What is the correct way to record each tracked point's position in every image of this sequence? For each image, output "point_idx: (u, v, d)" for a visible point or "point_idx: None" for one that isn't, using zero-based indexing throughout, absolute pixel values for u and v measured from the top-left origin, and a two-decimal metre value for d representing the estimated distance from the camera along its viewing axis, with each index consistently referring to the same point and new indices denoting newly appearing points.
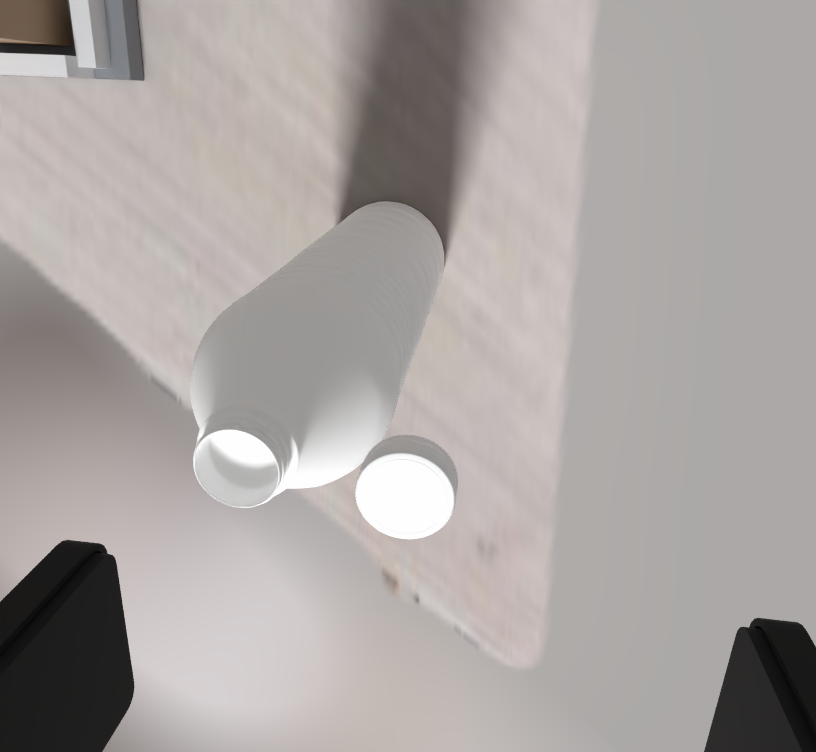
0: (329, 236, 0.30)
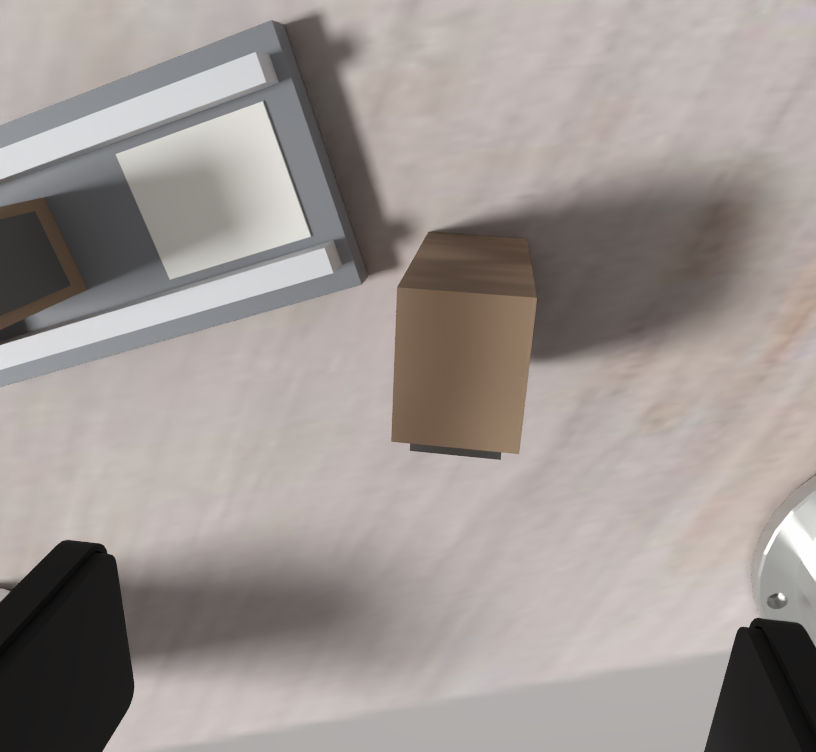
0: None
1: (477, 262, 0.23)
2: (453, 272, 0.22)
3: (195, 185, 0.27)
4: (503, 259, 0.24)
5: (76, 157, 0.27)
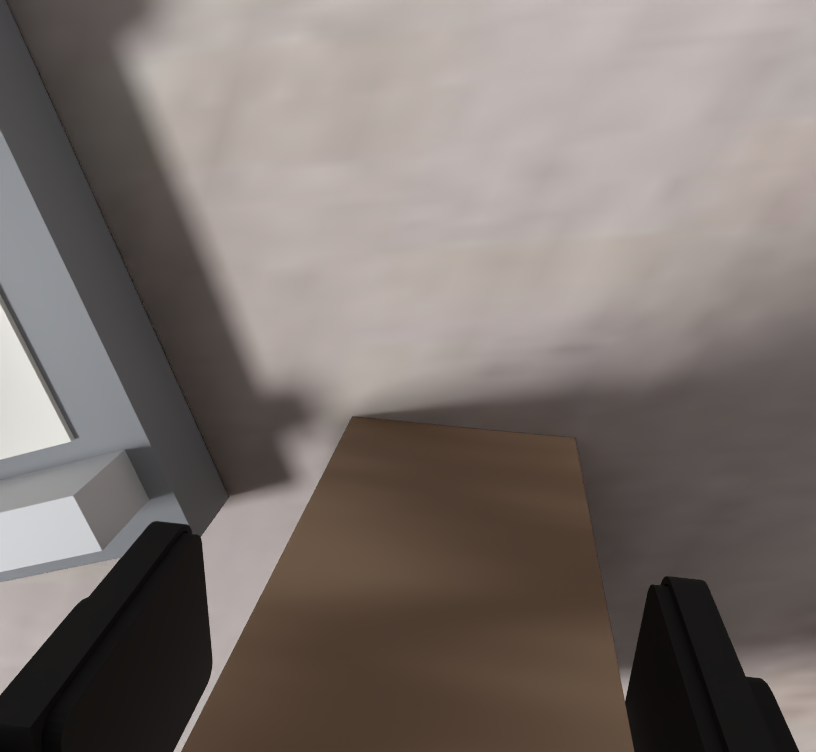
0: None
1: (447, 619, 0.08)
2: (354, 737, 0.06)
3: None
4: (524, 585, 0.08)
5: None
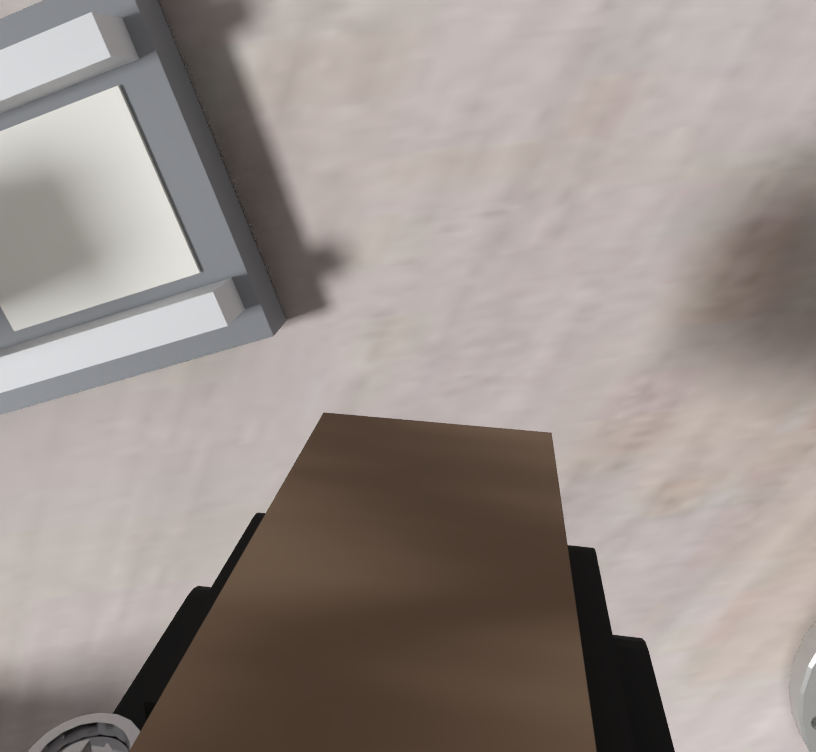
0: None
1: (409, 621, 0.08)
2: (305, 748, 0.06)
3: (35, 204, 0.20)
4: (492, 586, 0.08)
5: None
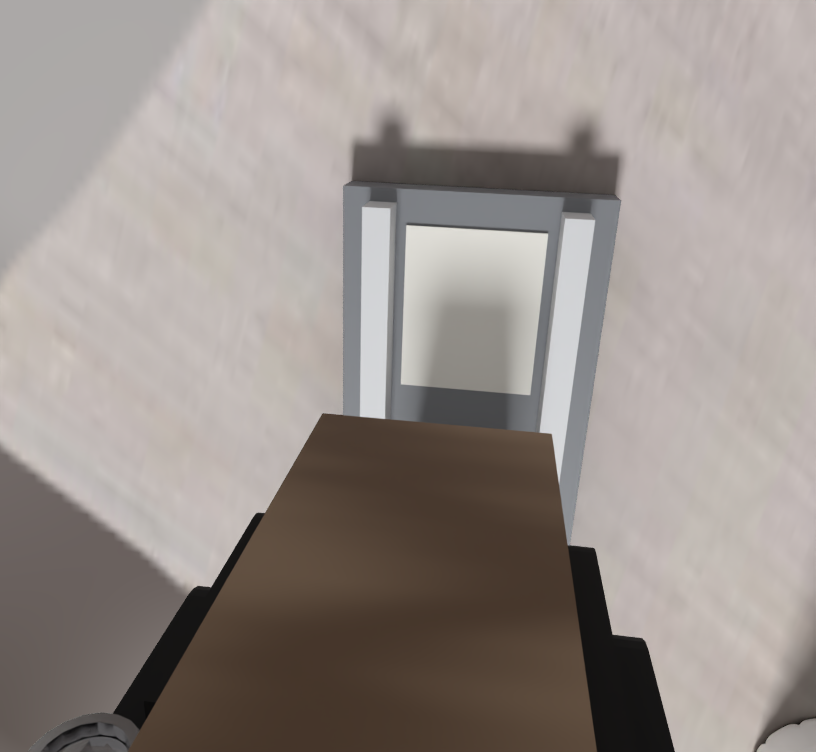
0: None
1: (408, 625, 0.07)
2: None
3: (454, 325, 0.27)
4: (492, 588, 0.08)
5: None
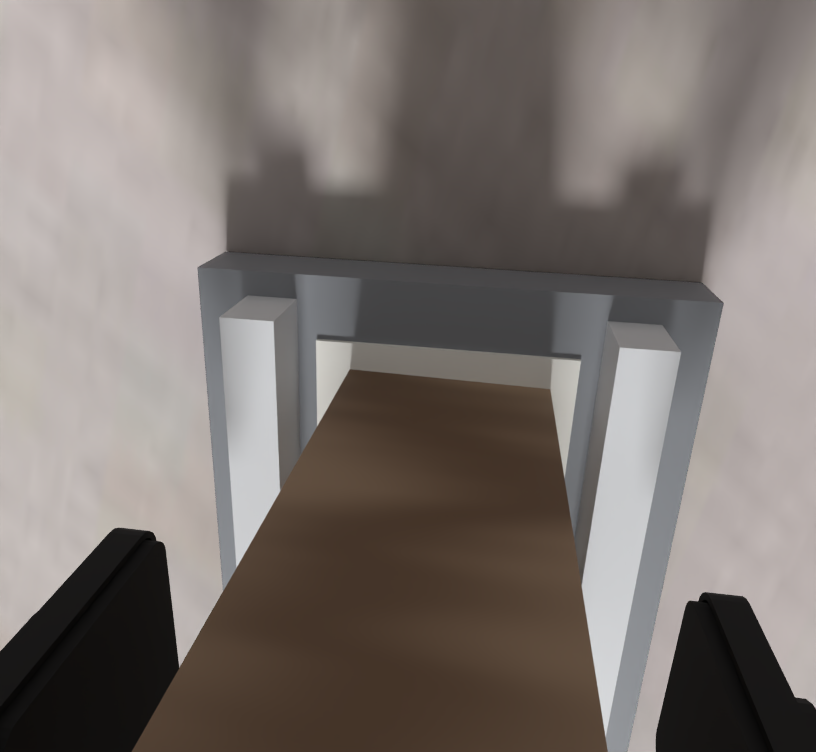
0: None
1: (433, 520, 0.09)
2: (356, 599, 0.08)
3: None
4: (500, 498, 0.10)
5: None
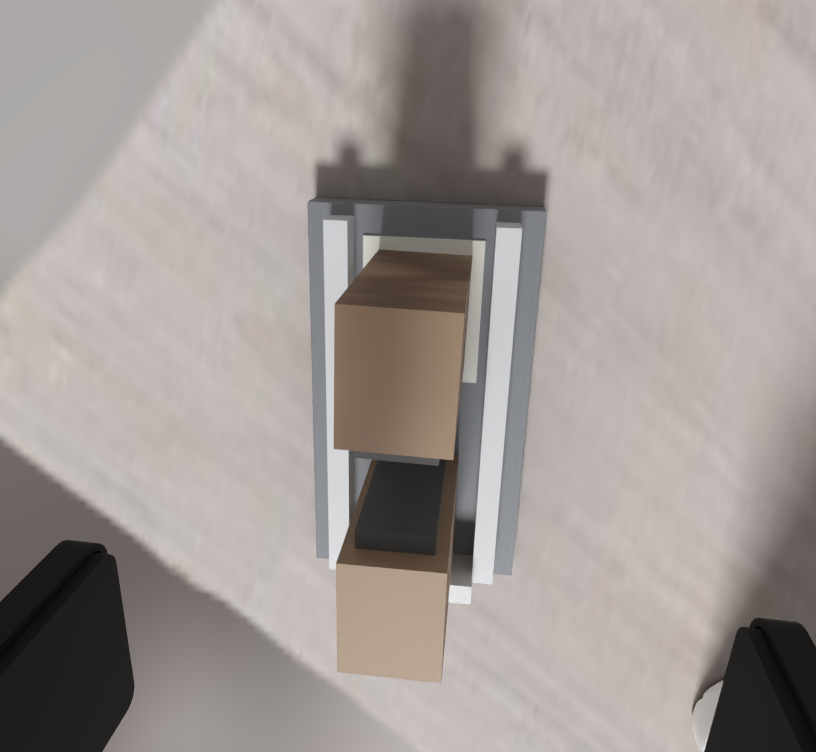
0: None
1: (417, 279, 0.25)
2: (392, 289, 0.23)
3: None
4: (443, 276, 0.25)
5: None
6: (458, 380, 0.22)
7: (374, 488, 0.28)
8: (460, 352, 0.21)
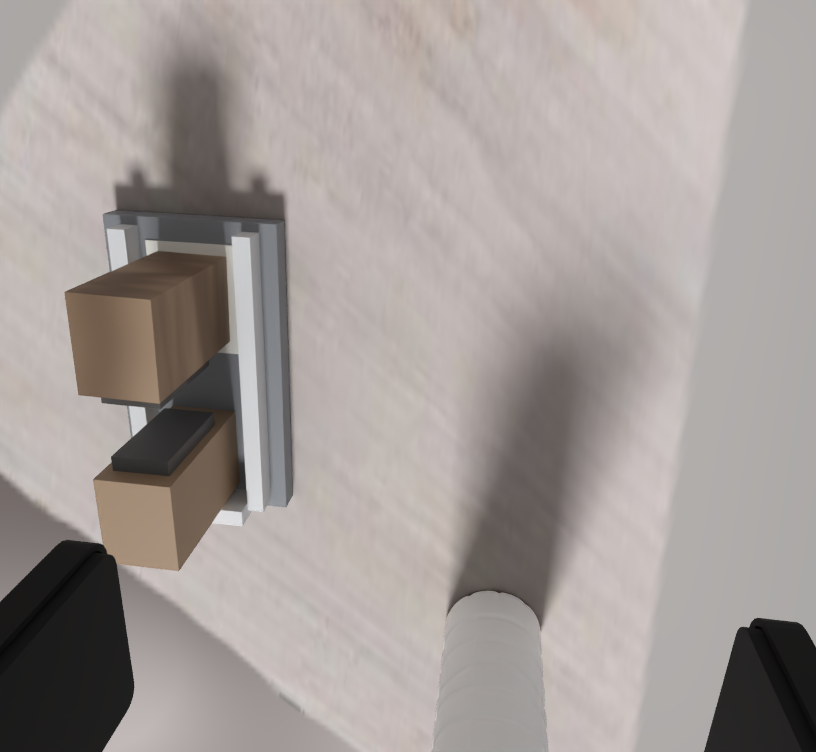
0: (473, 711, 0.37)
1: (153, 274, 0.34)
2: (122, 282, 0.33)
3: None
4: (177, 272, 0.35)
5: None
6: (154, 346, 0.31)
7: (144, 430, 0.38)
8: (151, 326, 0.31)
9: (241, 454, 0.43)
